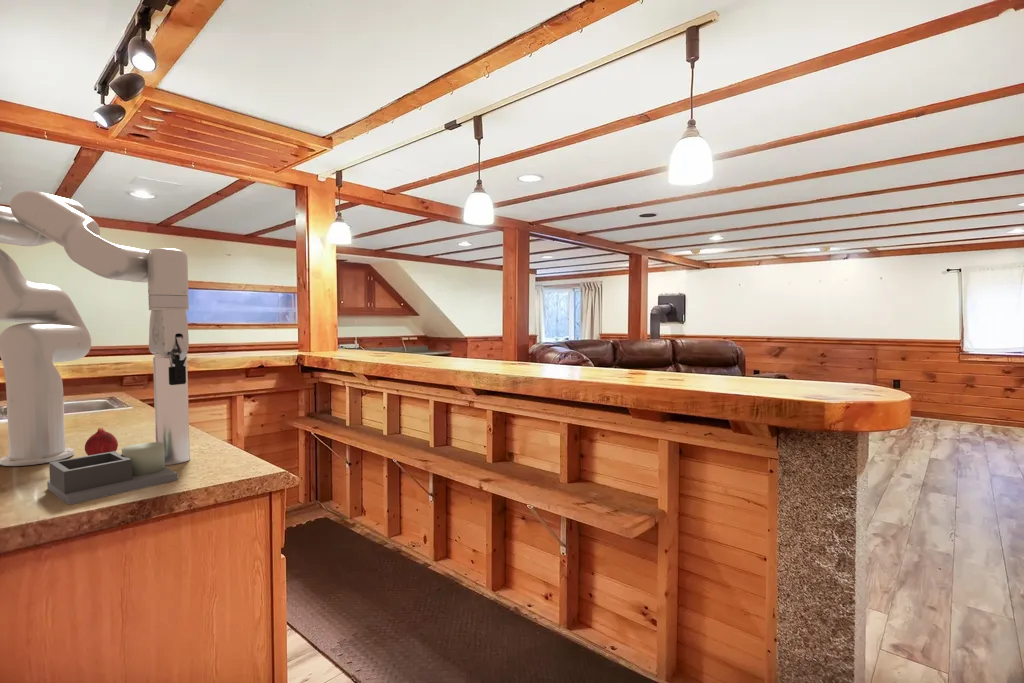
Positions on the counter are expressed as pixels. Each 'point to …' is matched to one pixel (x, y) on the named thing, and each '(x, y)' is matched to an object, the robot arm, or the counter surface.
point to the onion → (101, 443)
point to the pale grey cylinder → (171, 412)
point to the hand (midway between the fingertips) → (171, 382)
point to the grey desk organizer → (109, 473)
